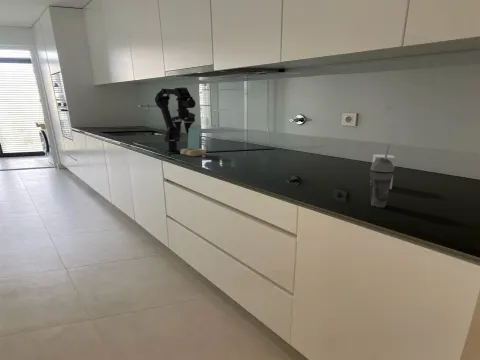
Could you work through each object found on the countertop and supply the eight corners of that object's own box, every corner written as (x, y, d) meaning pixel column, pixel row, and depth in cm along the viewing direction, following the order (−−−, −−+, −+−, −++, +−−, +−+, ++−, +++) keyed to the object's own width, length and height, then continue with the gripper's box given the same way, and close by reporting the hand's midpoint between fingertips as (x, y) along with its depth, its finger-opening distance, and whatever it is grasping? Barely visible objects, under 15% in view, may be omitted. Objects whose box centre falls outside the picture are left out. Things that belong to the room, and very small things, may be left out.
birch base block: (180, 153, 214) (180, 148, 213) (193, 151, 220) (192, 147, 220) (192, 156, 204) (192, 151, 203) (205, 154, 210) (205, 149, 210)
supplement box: (371, 188, 129) (374, 156, 126) (370, 184, 136) (373, 153, 133) (392, 190, 127) (395, 157, 124) (389, 185, 134) (393, 154, 131)
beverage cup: (365, 201, 113) (371, 142, 108) (388, 203, 111) (395, 143, 106) (367, 207, 106) (373, 145, 102) (391, 209, 104) (399, 146, 100)
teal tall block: (187, 148, 210) (188, 128, 206) (192, 147, 214) (193, 127, 211) (193, 150, 208) (195, 129, 204) (198, 149, 212) (200, 128, 208)
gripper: (201, 107, 208) (202, 133, 211) (184, 107, 221) (185, 131, 224) (186, 108, 200) (187, 134, 204) (170, 107, 213) (171, 132, 217)
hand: (183, 132), depth 212 cm, fingers open, 9 cm apart
